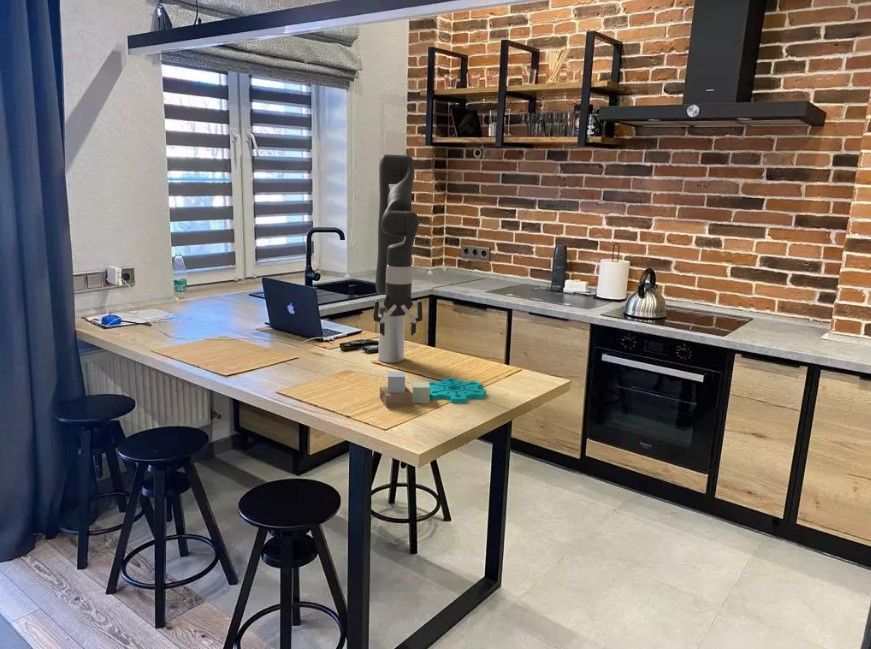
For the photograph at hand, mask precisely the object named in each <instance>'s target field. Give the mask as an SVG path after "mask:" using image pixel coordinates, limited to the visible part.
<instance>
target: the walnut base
mask: <svg viewBox="0 0 871 649" xmlns="http://www.w3.org/2000/svg"><path fill="white" fill-rule="evenodd" d="M412 398H413V394H412V390H410V389H409V388H408V387H407V386H406V384H405V393H388V385H386V386H380V387H379V400H380V399H381V400H380V401H381V403H382V402H383V403H382V404H383V405H384V407H385V406H386V407H387V408H396V407H409V406H413V400H412ZM386 407H385V408H386Z"/></svg>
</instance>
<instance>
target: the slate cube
mask: <svg viewBox="0 0 871 649" xmlns="http://www.w3.org/2000/svg"><path fill="white" fill-rule="evenodd" d="M405 385H406V374H405V371H388V372H387V386H388V393H405Z"/></svg>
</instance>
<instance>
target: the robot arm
mask: <svg viewBox="0 0 871 649" xmlns="http://www.w3.org/2000/svg"><path fill="white" fill-rule="evenodd" d="M378 174H379V175H378V177H379V178H378V180H379V208H378V223H377V224H378V225H377V226H378V227H377V246H378V247H377V250H378V251H377V260H376V261H377V262H376V271H375V290H376V292H377V294H378V295H380V296H385V297H384V300H378V299H375V300H374V304H373V314H372V315H373V316H372V317H373V321H374V322H378V361H380V362H381V363H382V362H383V363H391V364H392V363H393V364H395V363H400V362H404V360H405V357H404V356H405V355H404V354H405V321H406V320H405V319H406V318H405V317H406V316H407V317H408V318H409V319H410V321H411V322H410V336H414V334H416V333H417V323H420V322H422V321H423V302H422V300H421V299H418V300H412V290H413V289H412V287H413V286H412V284H413V282H412V281H413V270H412V257H413V256H412V255H413V254H412V253H413V247H414V242H415V239H416V235H417V232H418V230H419V226H420V219H419V216H418V214H417V213H416V212H414V211H412V210H413V206H412V193H413V186H414V179H415V162H414V158H413V157H412V156H410V155H405V154H390V153H389V154H383V155H381V157H380V159H379V167H378ZM390 185H394V186H393V187H392V188H390ZM413 306H414V308H415V309H416V310H417V312H416V313H417V316H416V317H414V315H413V313H412V312H411V311H410V309H411V308H412V307H413Z"/></svg>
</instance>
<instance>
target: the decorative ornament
mask: <svg viewBox="0 0 871 649" xmlns="http://www.w3.org/2000/svg"><path fill="white" fill-rule="evenodd" d="M426 382H429V385H430V400H438V399H443V400H447V401H448V400H449V401H450V402H451V404H467V401H468V400H469V399H470V400H471V399H477V400H483V399H484V398H485V397H486V396H487V392H488V391H487V389H484V384H483V383H482V382H479V381H477V380H470V381H467V380H466V381H464V380H459V379H458V378H457V377H442V380H440V381H430V380H427V381H426Z"/></svg>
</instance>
